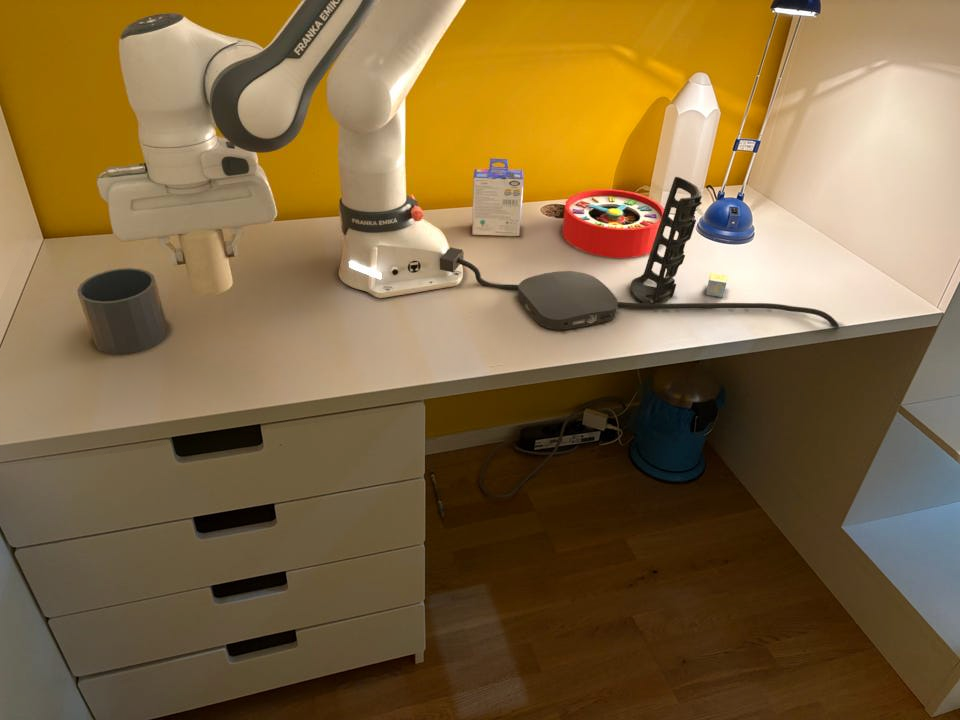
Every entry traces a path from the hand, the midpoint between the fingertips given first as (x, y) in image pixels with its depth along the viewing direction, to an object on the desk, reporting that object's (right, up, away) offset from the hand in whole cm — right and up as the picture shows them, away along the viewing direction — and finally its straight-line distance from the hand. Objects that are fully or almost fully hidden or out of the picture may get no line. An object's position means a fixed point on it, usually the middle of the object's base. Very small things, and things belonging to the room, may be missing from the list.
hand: (206, 259), depth 98 cm
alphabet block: (+79, -2, +32) cm, 85 cm away
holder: (+68, -2, +31) cm, 75 cm away
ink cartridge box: (+40, +13, +51) cm, 66 cm away
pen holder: (-18, -10, +16) cm, 26 cm away
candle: (0, -3, +3) cm, 4 cm away
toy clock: (+64, +12, +51) cm, 82 cm away
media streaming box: (+52, -4, +27) cm, 59 cm away
